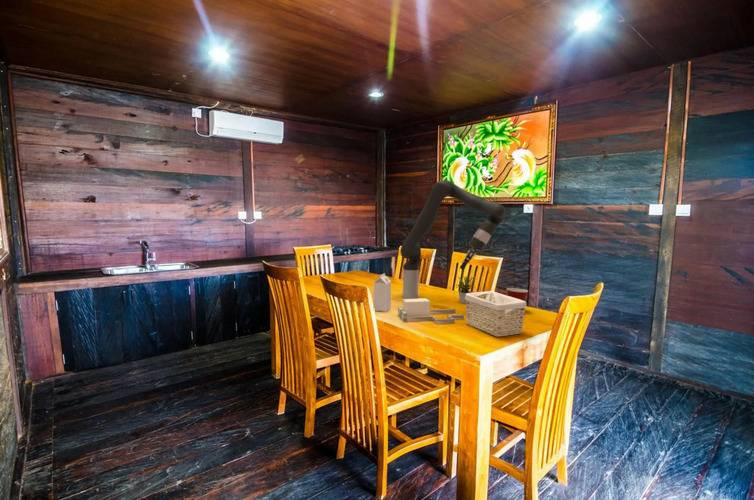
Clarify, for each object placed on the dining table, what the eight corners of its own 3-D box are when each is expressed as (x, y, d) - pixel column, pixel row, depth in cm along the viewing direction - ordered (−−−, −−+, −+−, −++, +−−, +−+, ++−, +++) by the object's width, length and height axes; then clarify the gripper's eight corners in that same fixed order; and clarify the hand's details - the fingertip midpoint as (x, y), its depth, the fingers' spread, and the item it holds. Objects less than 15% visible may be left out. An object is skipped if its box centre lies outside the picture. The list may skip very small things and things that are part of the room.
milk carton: (373, 310, 203) (373, 275, 201) (378, 307, 210) (378, 272, 208) (386, 312, 201) (386, 276, 198) (390, 308, 207) (391, 273, 205)
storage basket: (462, 323, 183) (463, 292, 181) (490, 319, 189) (491, 289, 188) (496, 339, 161) (497, 304, 159) (526, 334, 167) (528, 301, 166)
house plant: (483, 301, 224) (484, 273, 222) (475, 306, 213) (476, 277, 211) (459, 298, 232) (460, 271, 230) (450, 303, 220) (451, 274, 218)
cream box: (402, 316, 193) (402, 299, 192) (425, 315, 195) (426, 298, 194) (405, 320, 187) (405, 302, 186) (429, 319, 189) (429, 301, 188)
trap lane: (395, 312, 201) (395, 304, 201) (450, 309, 207) (450, 302, 206) (407, 325, 178) (407, 317, 178) (468, 322, 184) (468, 314, 183)
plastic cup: (530, 311, 204) (531, 288, 203) (522, 315, 196) (523, 292, 195) (510, 307, 212) (511, 285, 210) (501, 311, 204) (502, 288, 202)
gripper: (472, 237, 202) (454, 265, 203) (474, 234, 189) (455, 264, 190) (485, 244, 201) (467, 273, 202) (487, 243, 188) (468, 273, 189)
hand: (461, 269), depth 196 cm, fingers closed
